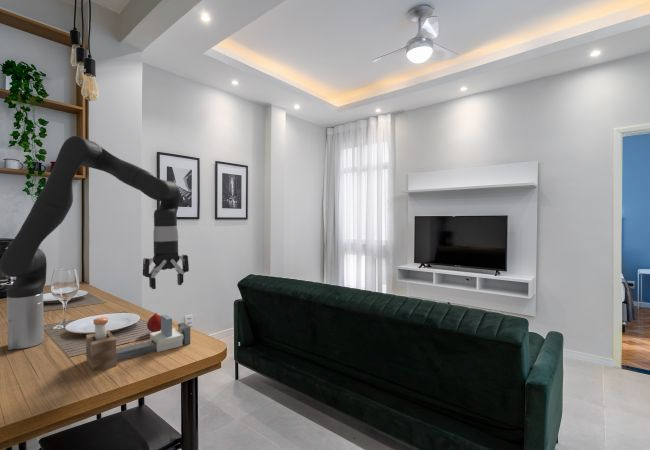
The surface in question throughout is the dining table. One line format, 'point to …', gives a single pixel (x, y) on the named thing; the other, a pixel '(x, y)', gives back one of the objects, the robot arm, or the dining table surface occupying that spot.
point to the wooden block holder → (101, 351)
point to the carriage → (166, 335)
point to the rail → (149, 345)
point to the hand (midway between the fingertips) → (166, 286)
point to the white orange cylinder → (100, 328)
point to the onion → (154, 323)
